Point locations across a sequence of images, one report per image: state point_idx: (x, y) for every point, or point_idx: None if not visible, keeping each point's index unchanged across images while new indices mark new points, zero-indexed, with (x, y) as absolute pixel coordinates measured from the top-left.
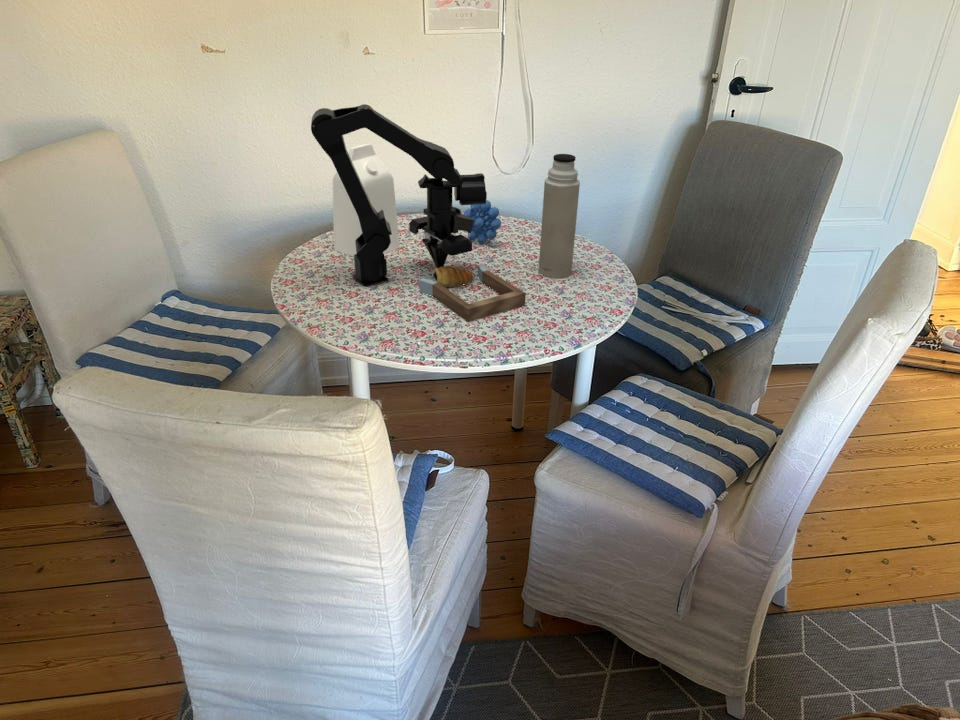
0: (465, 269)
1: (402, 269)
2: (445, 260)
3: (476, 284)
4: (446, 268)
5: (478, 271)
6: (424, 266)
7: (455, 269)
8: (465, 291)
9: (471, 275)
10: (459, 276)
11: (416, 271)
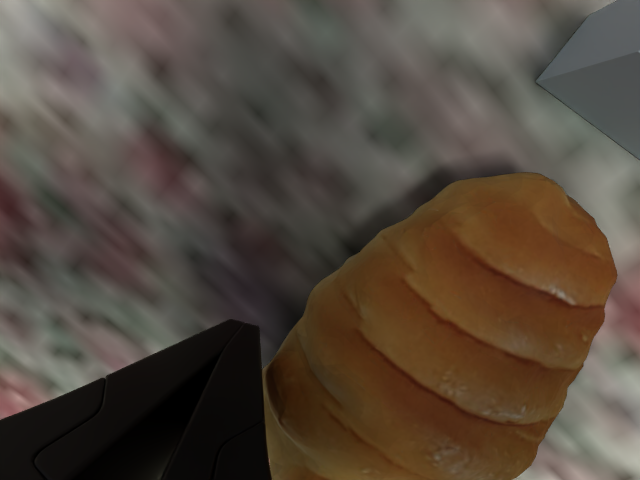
0: (523, 268)
1: (25, 386)
2: (262, 393)
3: (635, 239)
4: (397, 474)
5: (612, 96)
6: (51, 258)
7: (481, 414)
8: (623, 396)
9: (614, 265)
10: (554, 411)
11: (99, 356)
